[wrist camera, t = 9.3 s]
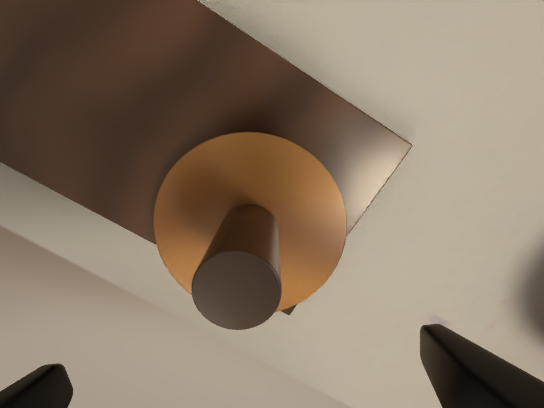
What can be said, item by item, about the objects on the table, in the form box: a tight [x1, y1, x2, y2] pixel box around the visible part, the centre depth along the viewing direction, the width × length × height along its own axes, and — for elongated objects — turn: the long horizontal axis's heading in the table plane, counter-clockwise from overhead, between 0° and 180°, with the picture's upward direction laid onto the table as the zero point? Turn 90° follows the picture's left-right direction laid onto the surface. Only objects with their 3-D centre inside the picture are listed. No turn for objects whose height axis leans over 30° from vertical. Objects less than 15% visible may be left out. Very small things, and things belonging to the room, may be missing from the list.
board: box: [0, 0, 412, 315], centre depth 15 cm, size 24×12×1 cm, turn 59°
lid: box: [153, 132, 347, 330], centre depth 13 cm, size 10×10×7 cm
